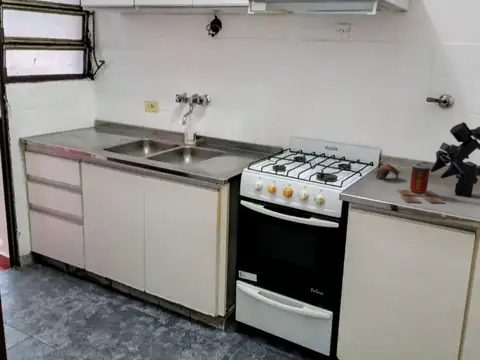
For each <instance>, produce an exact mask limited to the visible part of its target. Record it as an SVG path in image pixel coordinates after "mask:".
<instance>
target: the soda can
mask: <svg viewBox="0 0 480 360" xmlns="http://www.w3.org/2000/svg"><path fill="white" fill-rule="evenodd" d="M430 170H431V166H429V165H428V164H426V163H414V164H413V165H412V169H411V174H410V183H409V190H411V192H412V193H415V194H424V193H425V191H426V190H428V183H429V178H430V173H431V171H430Z"/></svg>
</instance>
